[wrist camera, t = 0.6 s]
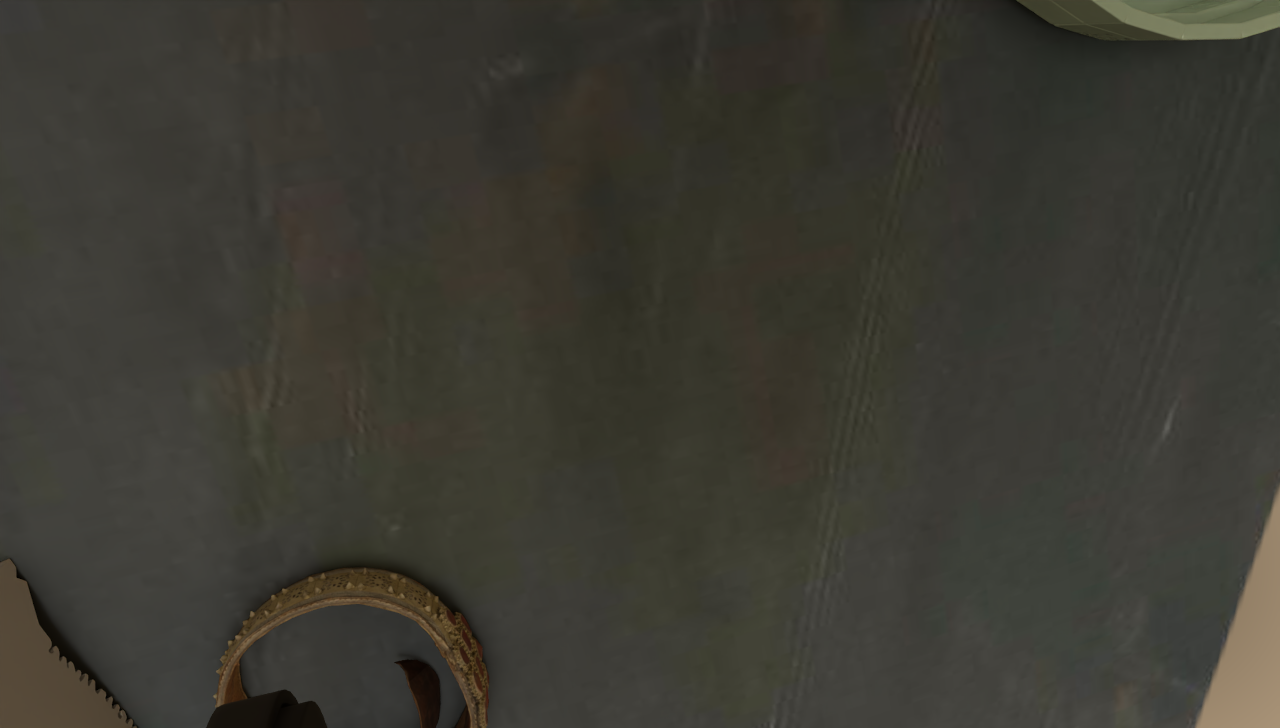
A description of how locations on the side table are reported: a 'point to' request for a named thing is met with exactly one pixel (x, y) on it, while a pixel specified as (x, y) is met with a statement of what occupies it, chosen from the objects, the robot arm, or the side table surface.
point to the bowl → (1160, 18)
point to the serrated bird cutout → (42, 672)
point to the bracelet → (385, 594)
